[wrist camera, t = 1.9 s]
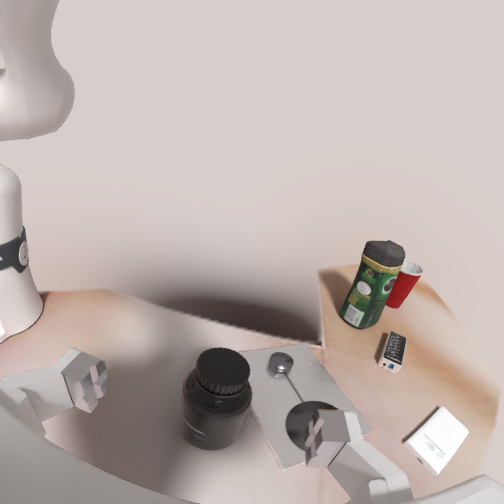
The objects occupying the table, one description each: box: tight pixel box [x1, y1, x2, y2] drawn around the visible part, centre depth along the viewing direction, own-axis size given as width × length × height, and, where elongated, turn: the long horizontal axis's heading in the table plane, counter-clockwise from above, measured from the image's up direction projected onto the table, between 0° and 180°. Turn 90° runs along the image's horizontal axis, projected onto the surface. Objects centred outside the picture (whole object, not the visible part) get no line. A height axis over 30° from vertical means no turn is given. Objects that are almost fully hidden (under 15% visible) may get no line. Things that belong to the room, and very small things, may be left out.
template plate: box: [238, 343, 373, 471], centre depth 33 cm, size 14×20×2 cm
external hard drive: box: [403, 406, 469, 476], centre depth 26 cm, size 2×8×12 cm
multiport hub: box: [378, 331, 407, 374], centre depth 45 cm, size 4×11×2 cm, turn 145°
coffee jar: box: [340, 240, 405, 329], centre depth 53 cm, size 10×8×19 cm
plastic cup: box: [386, 259, 424, 308], centre depth 65 cm, size 11×11×12 cm
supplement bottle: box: [180, 347, 253, 450], centre depth 24 cm, size 7×7×12 cm
